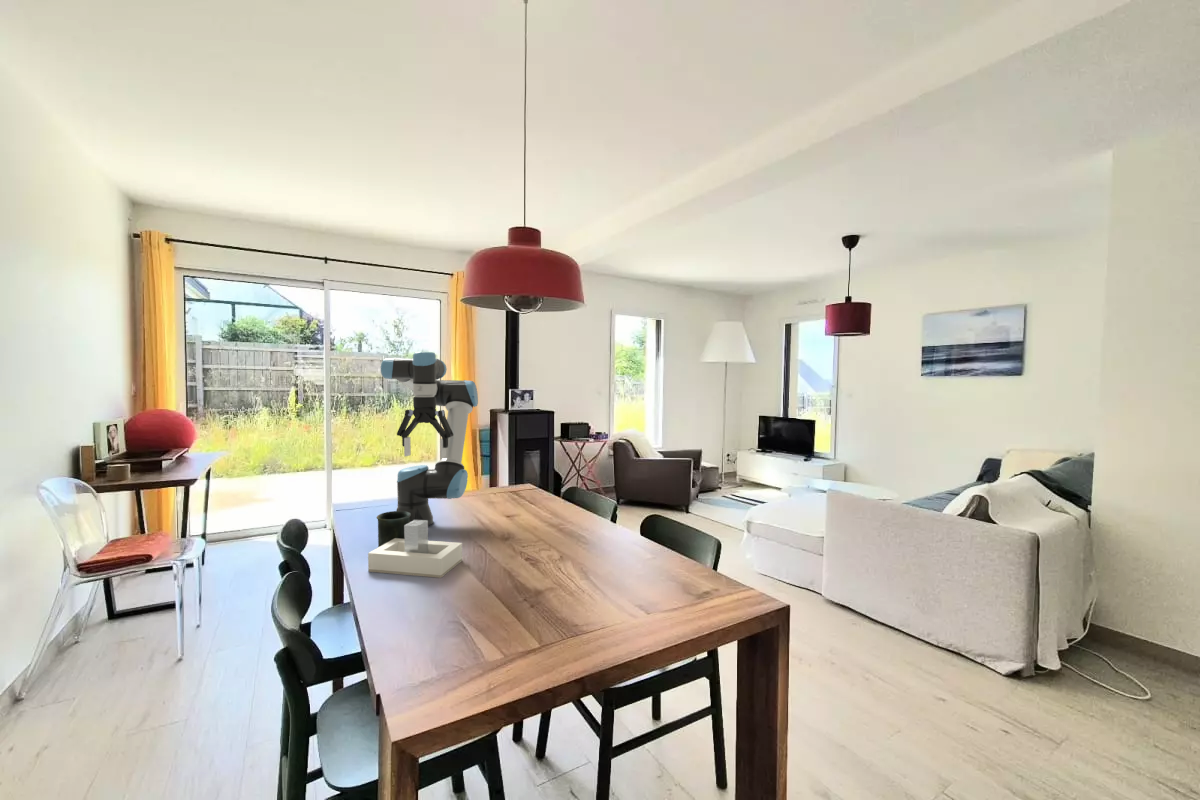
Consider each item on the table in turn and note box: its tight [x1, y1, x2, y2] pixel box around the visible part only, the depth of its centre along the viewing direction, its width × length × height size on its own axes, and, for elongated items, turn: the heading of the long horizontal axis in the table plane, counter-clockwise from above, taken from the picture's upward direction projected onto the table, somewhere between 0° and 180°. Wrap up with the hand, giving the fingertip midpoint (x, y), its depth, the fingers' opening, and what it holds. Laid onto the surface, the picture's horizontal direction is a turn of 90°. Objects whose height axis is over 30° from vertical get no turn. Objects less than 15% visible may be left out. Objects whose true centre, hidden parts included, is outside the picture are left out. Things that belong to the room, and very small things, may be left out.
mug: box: [376, 510, 411, 548], centre depth 170 cm, size 11×15×12 cm
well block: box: [367, 538, 463, 579], centre depth 155 cm, size 14×24×6 cm, turn 80°
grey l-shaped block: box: [404, 520, 429, 554], centre depth 154 cm, size 6×10×13 cm, turn 80°
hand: (425, 456), depth 172 cm, fingers open, 13 cm apart
